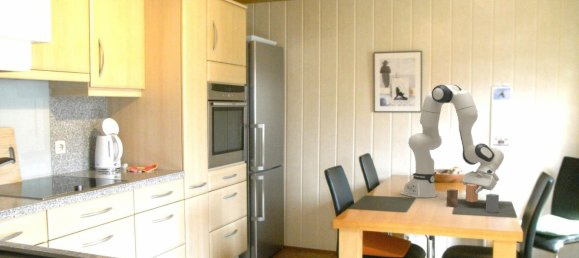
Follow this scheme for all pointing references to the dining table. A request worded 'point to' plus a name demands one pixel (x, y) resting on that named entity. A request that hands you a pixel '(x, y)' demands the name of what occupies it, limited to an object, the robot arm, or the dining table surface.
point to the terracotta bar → (471, 193)
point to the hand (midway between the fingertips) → (471, 192)
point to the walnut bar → (452, 198)
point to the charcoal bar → (492, 203)
